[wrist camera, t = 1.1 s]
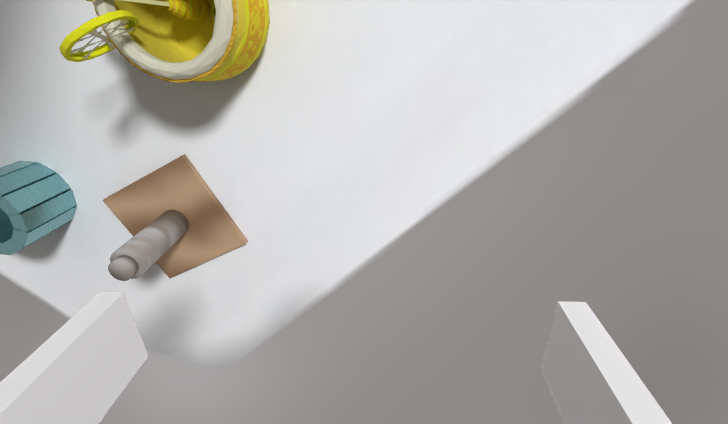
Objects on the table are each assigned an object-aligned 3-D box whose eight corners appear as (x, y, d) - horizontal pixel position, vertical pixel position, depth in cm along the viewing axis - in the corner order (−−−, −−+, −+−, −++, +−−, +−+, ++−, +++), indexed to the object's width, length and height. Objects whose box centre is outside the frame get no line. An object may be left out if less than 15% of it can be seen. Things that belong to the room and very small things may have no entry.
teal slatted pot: (-10, 179, 40) (-74, 203, 34) (36, 149, 38) (-23, 169, 32) (44, 235, 42) (-7, 264, 37) (90, 209, 40) (43, 237, 35)
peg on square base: (106, 197, 40) (27, 244, 31) (184, 154, 37) (121, 191, 28) (172, 275, 44) (118, 335, 35) (247, 241, 41) (209, 297, 32)
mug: (276, -63, 29) (206, -120, 18) (275, 85, 33) (219, 111, 23) (113, -84, 29) (-55, -153, 18) (135, 66, 34) (14, 83, 23)
